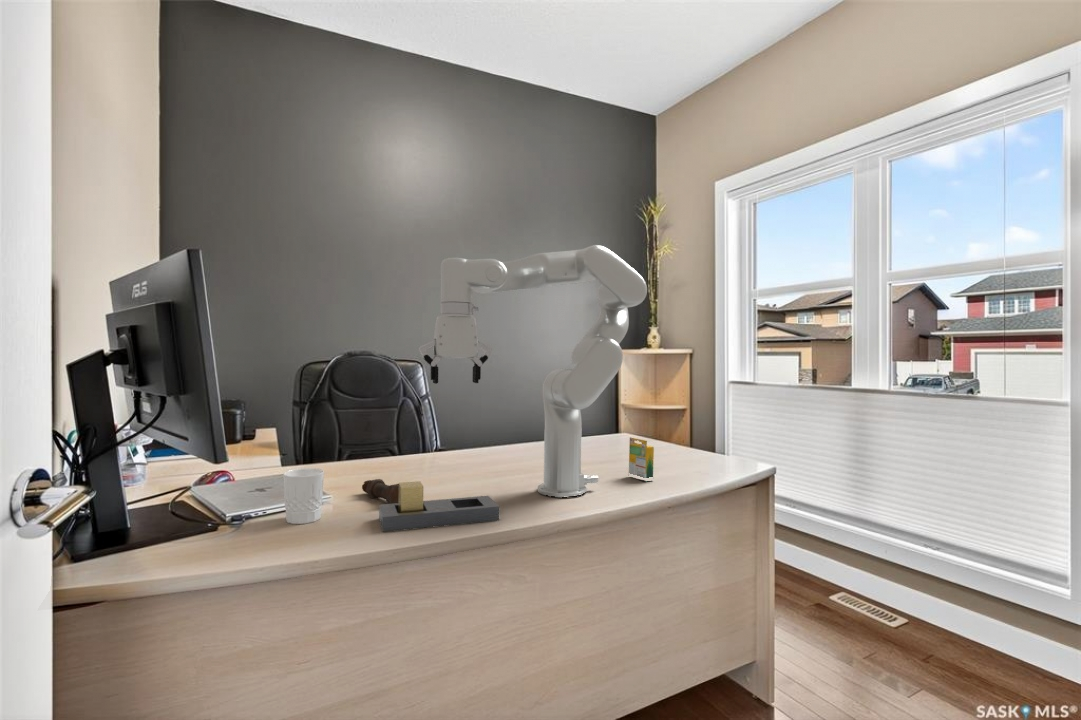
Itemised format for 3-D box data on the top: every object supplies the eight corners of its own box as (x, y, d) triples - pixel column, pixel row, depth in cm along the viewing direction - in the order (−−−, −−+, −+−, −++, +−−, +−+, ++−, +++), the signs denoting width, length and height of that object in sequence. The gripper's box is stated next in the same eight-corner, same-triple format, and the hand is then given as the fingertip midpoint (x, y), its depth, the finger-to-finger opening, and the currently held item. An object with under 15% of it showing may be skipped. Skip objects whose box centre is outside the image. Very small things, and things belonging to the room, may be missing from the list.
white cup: (318, 524, 113) (319, 476, 113) (278, 526, 112) (278, 477, 111) (327, 513, 121) (327, 467, 120) (289, 514, 119) (289, 468, 119)
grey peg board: (488, 508, 126) (488, 495, 126) (499, 520, 117) (499, 506, 117) (379, 518, 117) (379, 504, 117) (382, 532, 109) (382, 517, 109)
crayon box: (653, 481, 155) (654, 440, 154) (645, 482, 153) (646, 440, 153) (636, 475, 161) (636, 436, 160) (628, 477, 159) (629, 437, 159)
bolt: (370, 500, 138) (402, 511, 127) (353, 493, 135) (384, 504, 124) (380, 478, 140) (412, 487, 129) (364, 471, 137) (396, 480, 126)
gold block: (419, 518, 118) (420, 481, 118) (423, 524, 114) (423, 486, 114) (398, 520, 117) (398, 482, 116) (400, 526, 112) (401, 488, 112)
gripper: (487, 313, 137) (486, 381, 138) (417, 310, 131) (416, 382, 131) (496, 311, 130) (495, 383, 131) (422, 308, 124) (421, 384, 124)
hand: (455, 383), depth 131 cm, fingers open, 9 cm apart
